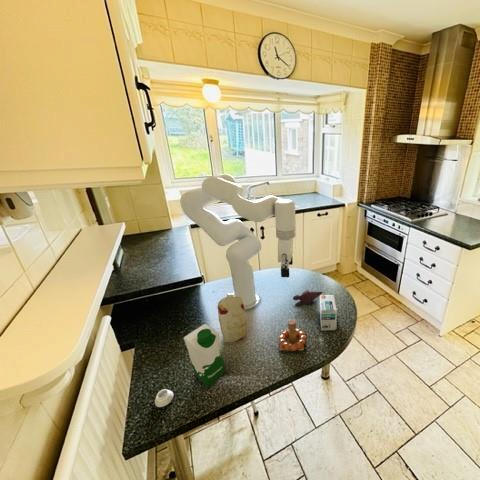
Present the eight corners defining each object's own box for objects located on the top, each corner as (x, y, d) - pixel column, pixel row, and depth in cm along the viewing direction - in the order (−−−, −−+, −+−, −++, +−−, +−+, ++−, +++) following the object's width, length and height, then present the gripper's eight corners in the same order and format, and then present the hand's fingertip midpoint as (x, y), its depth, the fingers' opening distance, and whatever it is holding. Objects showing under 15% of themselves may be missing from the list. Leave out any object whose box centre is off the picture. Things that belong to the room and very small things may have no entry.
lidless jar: (154, 397, 81) (156, 411, 77) (152, 391, 79) (153, 404, 76) (172, 389, 83) (174, 402, 79) (170, 383, 82) (172, 395, 78)
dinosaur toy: (318, 283, 128) (290, 293, 122) (324, 288, 121) (294, 298, 116) (320, 296, 129) (292, 306, 124) (326, 301, 122) (297, 312, 117)
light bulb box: (336, 330, 107) (337, 310, 103) (320, 331, 107) (321, 310, 102) (333, 313, 117) (334, 294, 112) (319, 313, 117) (319, 294, 112)
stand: (279, 352, 97) (278, 330, 92) (283, 334, 105) (281, 313, 101) (303, 352, 97) (303, 330, 92) (305, 334, 105) (304, 313, 101)
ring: (277, 352, 95) (276, 347, 94) (281, 331, 105) (280, 327, 104) (305, 352, 95) (305, 347, 94) (306, 331, 105) (306, 327, 104)
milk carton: (207, 391, 83) (195, 346, 74) (191, 376, 87) (178, 332, 79) (229, 371, 89) (221, 328, 81) (214, 359, 94) (204, 316, 86)
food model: (224, 349, 98) (216, 307, 90) (222, 337, 104) (214, 297, 95) (250, 340, 102) (244, 300, 94) (246, 329, 108) (241, 290, 99)
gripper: (279, 223, 106) (281, 259, 113) (271, 241, 90) (274, 282, 97) (298, 224, 106) (298, 260, 113) (292, 242, 90) (293, 282, 97)
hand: (287, 270), depth 105 cm, fingers open, 9 cm apart
